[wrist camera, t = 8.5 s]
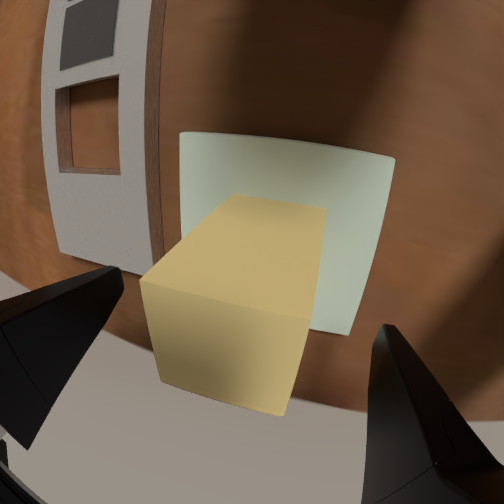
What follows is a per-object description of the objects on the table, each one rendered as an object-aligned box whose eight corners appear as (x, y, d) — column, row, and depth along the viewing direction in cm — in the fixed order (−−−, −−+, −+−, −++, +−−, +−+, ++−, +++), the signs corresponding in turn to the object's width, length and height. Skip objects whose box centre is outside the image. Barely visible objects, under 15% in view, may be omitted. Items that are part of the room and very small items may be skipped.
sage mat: (392, 157, 11) (395, 159, 10) (348, 328, 15) (348, 335, 14) (186, 131, 12) (179, 133, 12) (190, 294, 17) (186, 300, 16)
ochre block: (326, 208, 12) (311, 320, 6) (311, 289, 14) (283, 417, 8) (232, 193, 13) (139, 280, 7) (229, 272, 15) (160, 381, 9)
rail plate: (179, -78, 7) (167, -87, 6) (165, 267, 16) (153, 279, 15) (72, -35, 8) (58, -38, 7) (71, 244, 18) (59, 252, 17)
